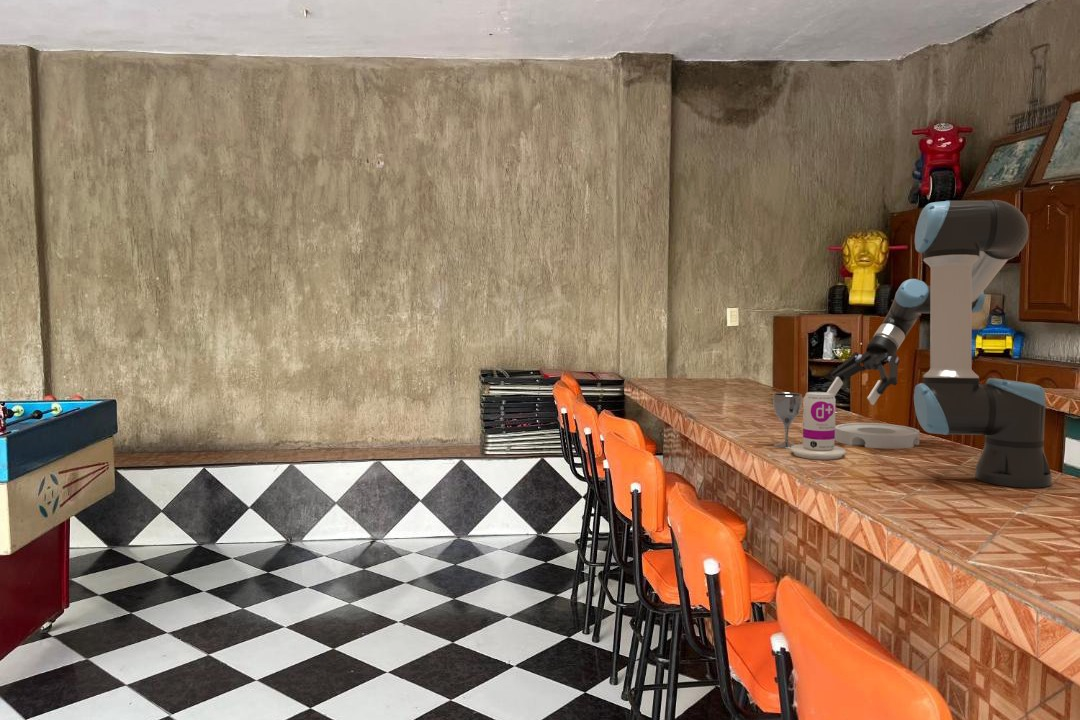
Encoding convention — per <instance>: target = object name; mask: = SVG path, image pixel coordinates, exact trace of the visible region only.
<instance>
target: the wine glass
mask: <svg viewBox="0 0 1080 720" xmlns="http://www.w3.org/2000/svg"><path fill="white" fill-rule="evenodd" d="M802 403H803V394H801V393H798V392H783V391H782V392H773V394H772V404H773V410H774V413H775V415H776V416H777V418H778V419H779V420H780V421H781V423H782V425H783V427H784V432H785V433H784V437H785V439H784V441H782V442H779V443H775V444H773V446H774V447H776V448H782V449H791V446H793V445H796V444H795V443H791V442H789V431H790V426H791V425H792V423H793V421H794V420H796V418H797V417H798V416H799V414H800V412H801V409H802V405H803V404H802Z"/></svg>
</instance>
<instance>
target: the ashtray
mask: <svg viewBox="0 0 1080 720" xmlns="http://www.w3.org/2000/svg"><path fill="white" fill-rule="evenodd" d="M920 436H921V435H920V430H919V429H917V428H914V427H910V426H905V425H898V424H892V423H891V424H890V423H877V422H876V423H875V422H852V423H851V422H850V423H842V424H841V423H840V424H837V425H835V441H836V442H838V443H840V444H843V445H847V446H864V447H865V448H868V449H869V448H871V449H886V450H887V449H888V450H889V449H893V450H894V449H895V450H896V449H909V448H910V449H911V448H914V446H919V445H920Z"/></svg>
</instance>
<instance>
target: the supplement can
mask: <svg viewBox="0 0 1080 720" xmlns="http://www.w3.org/2000/svg"><path fill="white" fill-rule="evenodd" d="M836 401H837V399H836V396H835V397H834V395H833V393H827V391H826V392H824V391H808V392H806V393H805V395H804V397H803V398H802V403H803V404H802V405H803V406H802V444H803V446H804V447H805V449H808V450H814V451H830V450H832V449H833V448H834V447H835V446H836V445H835V443H836V442H835V441H836V440H835V426H836Z"/></svg>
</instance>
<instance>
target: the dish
mask: <svg viewBox="0 0 1080 720" xmlns="http://www.w3.org/2000/svg"><path fill="white" fill-rule="evenodd" d="M790 452H792V453H793V455H794V456H795V457H798V458H801V459H802V458H803V459H808V460H819V461H828V460H829V461H830V460H838V459H842V458H843V456H844V455H845V454H846V449H845V448H843V447H841V446H837V445H835V447H834V448H833V449H832V450H830V451H814V450H808V449H805V447H804V446H803V443H801V444H795V445H793V446H791V448H790Z"/></svg>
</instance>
